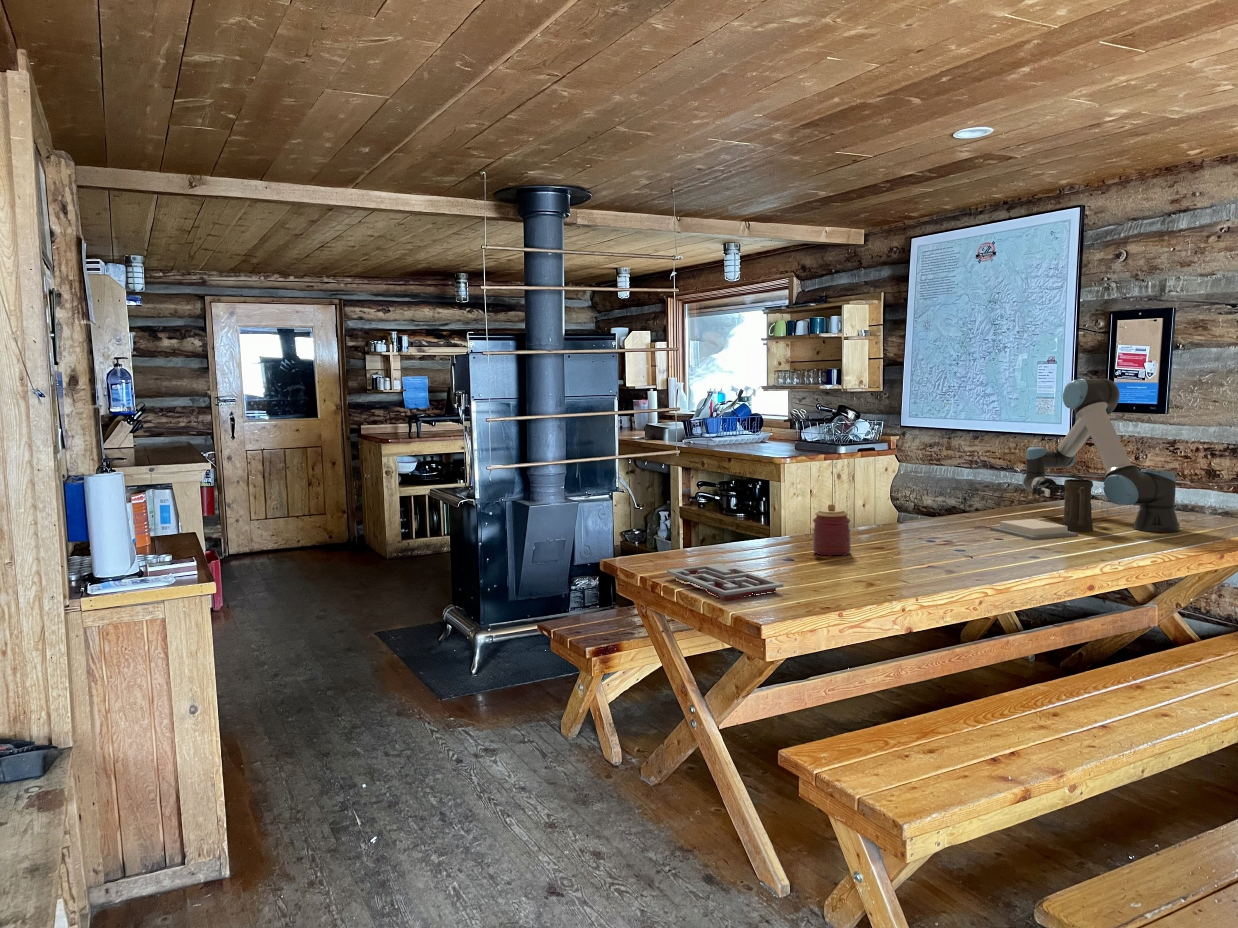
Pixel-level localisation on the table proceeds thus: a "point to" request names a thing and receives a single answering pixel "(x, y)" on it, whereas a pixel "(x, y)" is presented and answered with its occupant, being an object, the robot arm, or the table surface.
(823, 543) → the canister
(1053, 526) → the stand
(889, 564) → the table surface
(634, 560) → the table surface
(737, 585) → the maze game
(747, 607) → the table surface
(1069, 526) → the beer stein
